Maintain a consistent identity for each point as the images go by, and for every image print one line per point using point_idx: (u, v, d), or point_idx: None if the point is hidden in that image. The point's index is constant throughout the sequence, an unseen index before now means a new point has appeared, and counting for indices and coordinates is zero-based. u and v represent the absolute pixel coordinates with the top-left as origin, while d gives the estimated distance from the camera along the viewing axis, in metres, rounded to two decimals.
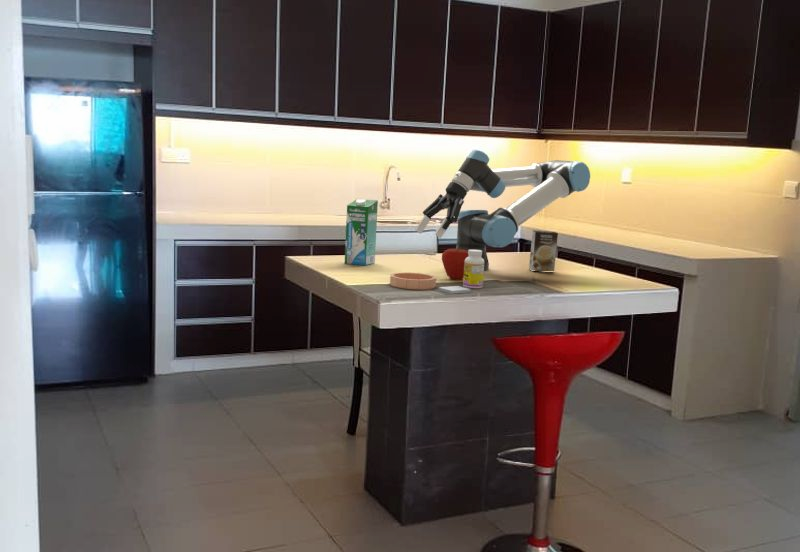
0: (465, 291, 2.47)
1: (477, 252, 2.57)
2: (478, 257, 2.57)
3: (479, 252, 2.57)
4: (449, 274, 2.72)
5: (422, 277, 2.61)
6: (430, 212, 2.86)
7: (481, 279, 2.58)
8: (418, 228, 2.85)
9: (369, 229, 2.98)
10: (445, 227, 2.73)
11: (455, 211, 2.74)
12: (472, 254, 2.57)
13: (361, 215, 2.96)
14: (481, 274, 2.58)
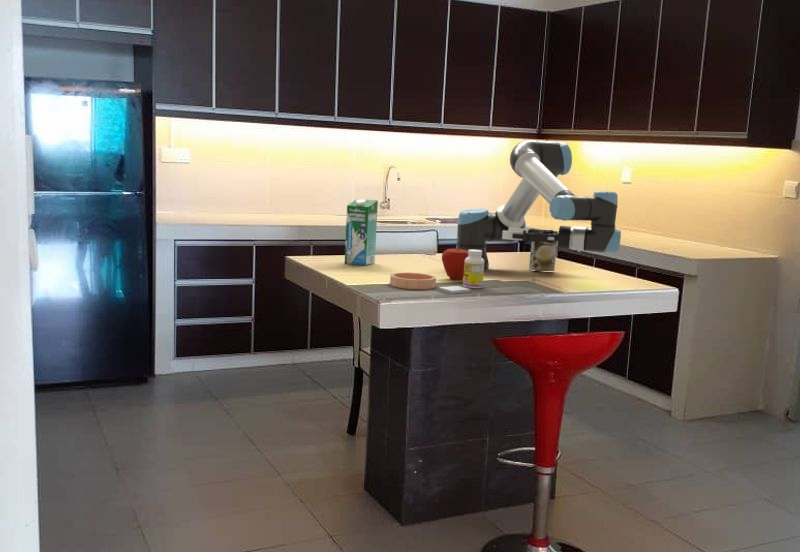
0: (465, 291, 2.47)
1: (477, 252, 2.57)
2: (478, 257, 2.57)
3: (479, 252, 2.57)
4: (449, 274, 2.72)
5: (422, 277, 2.61)
6: None
7: (481, 279, 2.58)
8: None
9: (369, 229, 2.98)
10: None
11: None
12: (472, 254, 2.57)
13: (361, 215, 2.96)
14: (481, 274, 2.58)
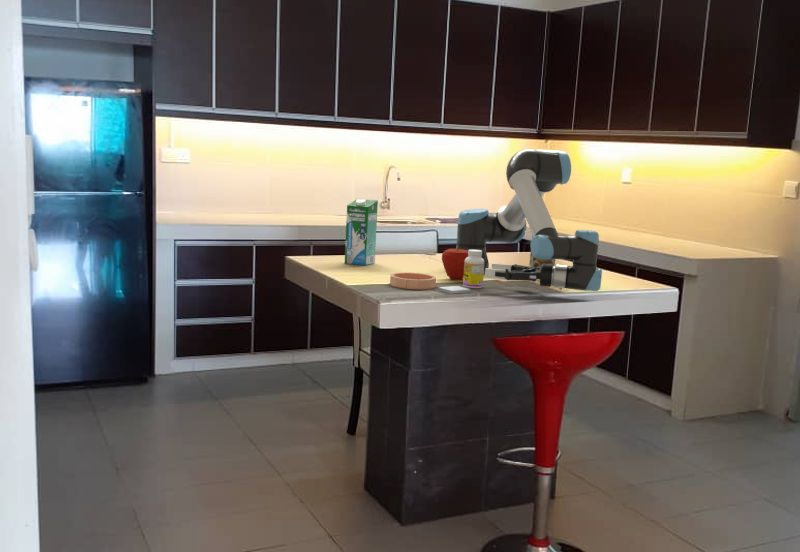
0: (465, 291, 2.47)
1: (477, 252, 2.57)
2: (478, 257, 2.57)
3: (479, 252, 2.57)
4: (449, 274, 2.72)
5: (422, 277, 2.61)
6: None
7: (481, 279, 2.58)
8: None
9: (369, 229, 2.98)
10: None
11: None
12: (472, 254, 2.57)
13: (361, 215, 2.96)
14: (481, 274, 2.58)
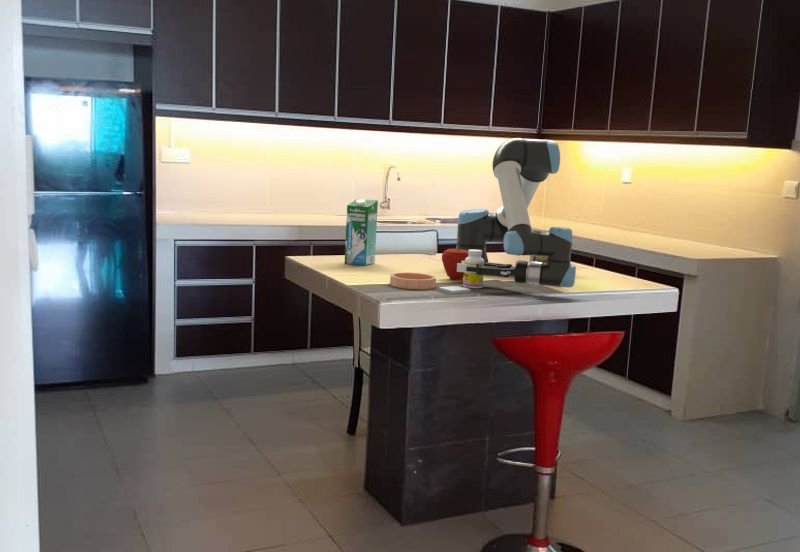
0: (465, 291, 2.47)
1: (477, 252, 2.57)
2: (478, 257, 2.57)
3: (479, 252, 2.57)
4: (449, 274, 2.72)
5: (422, 277, 2.61)
6: None
7: (481, 279, 2.58)
8: None
9: (369, 229, 2.98)
10: None
11: None
12: (472, 254, 2.57)
13: (361, 215, 2.96)
14: None
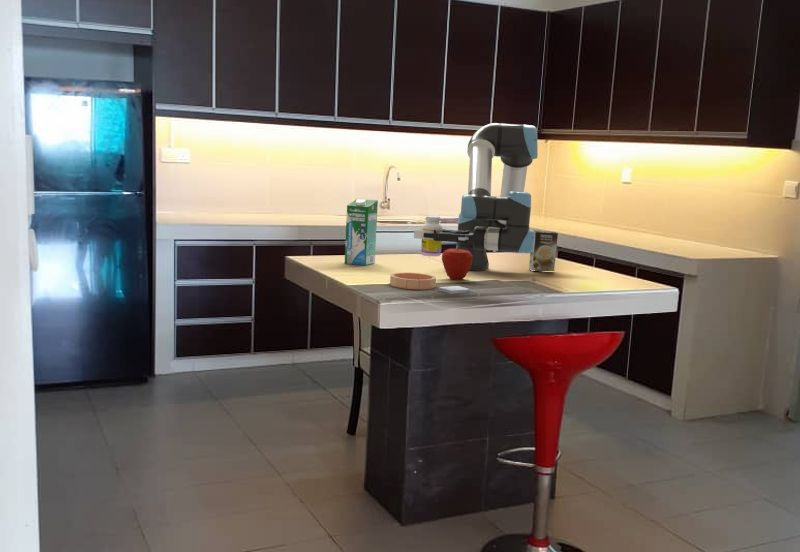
0: (465, 291, 2.47)
1: (435, 218, 2.50)
2: (436, 223, 2.51)
3: (437, 218, 2.51)
4: (449, 274, 2.72)
5: (422, 277, 2.61)
6: None
7: (439, 246, 2.52)
8: None
9: (369, 229, 2.98)
10: None
11: None
12: (430, 220, 2.51)
13: (361, 215, 2.96)
14: (439, 241, 2.52)
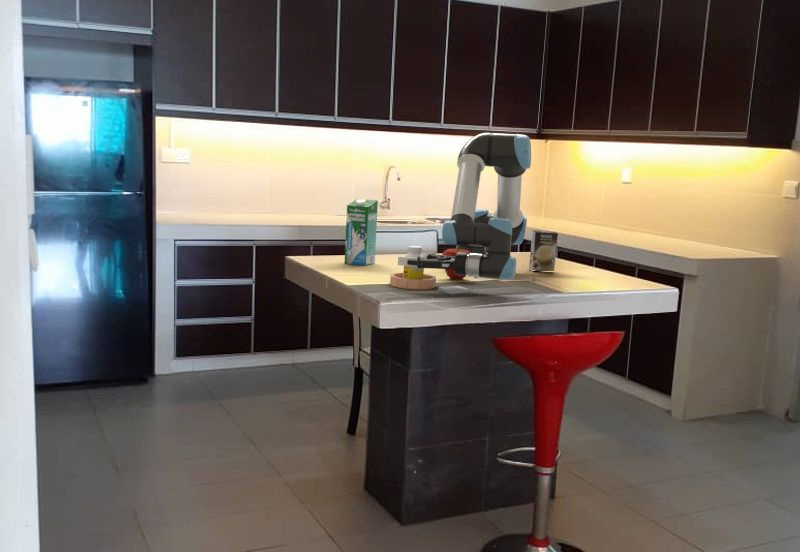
0: (465, 291, 2.47)
1: (416, 248, 2.52)
2: (418, 253, 2.53)
3: (419, 248, 2.52)
4: (449, 274, 2.72)
5: None
6: None
7: (421, 276, 2.54)
8: None
9: (369, 229, 2.98)
10: None
11: None
12: (411, 250, 2.52)
13: (361, 215, 2.96)
14: (421, 271, 2.53)
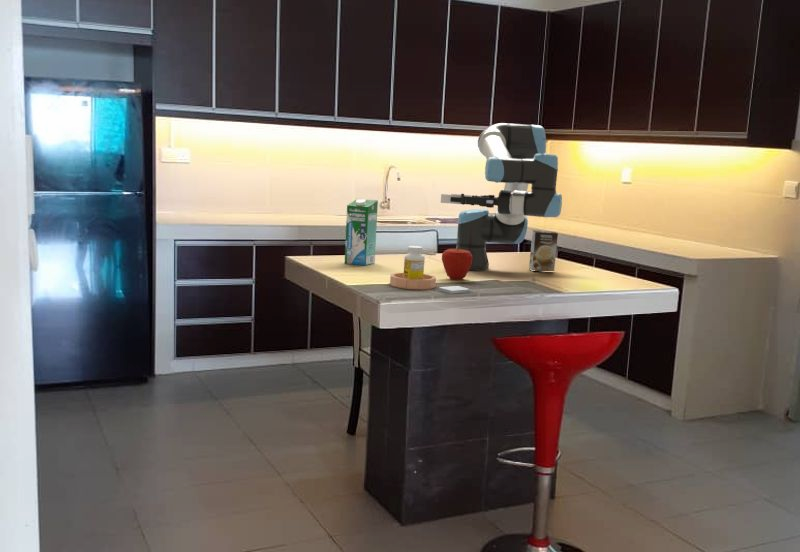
0: (465, 291, 2.47)
1: (416, 248, 2.52)
2: (418, 254, 2.52)
3: (419, 248, 2.52)
4: (449, 274, 2.72)
5: None
6: None
7: (421, 276, 2.53)
8: None
9: (369, 229, 2.98)
10: None
11: None
12: (411, 250, 2.52)
13: (361, 215, 2.96)
14: (421, 271, 2.53)
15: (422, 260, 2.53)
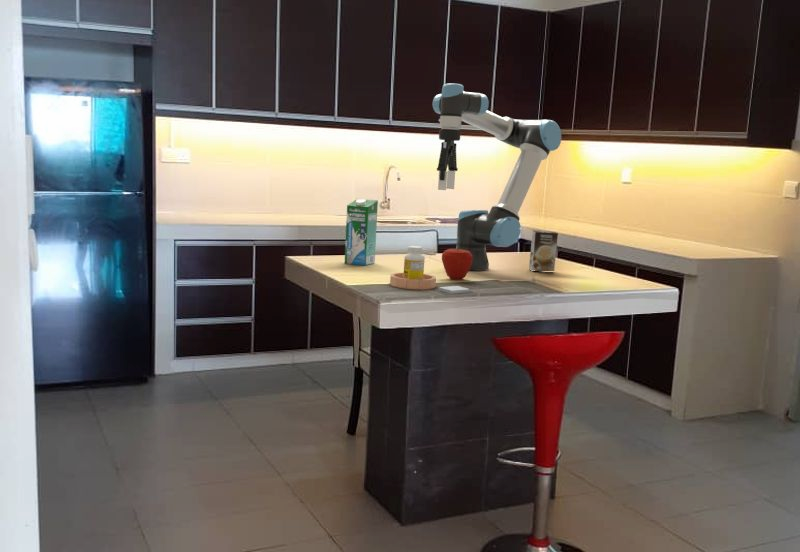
0: (465, 291, 2.47)
1: (416, 248, 2.52)
2: (418, 253, 2.52)
3: (419, 248, 2.52)
4: (449, 274, 2.72)
5: None
6: (449, 165, 2.80)
7: (421, 276, 2.53)
8: (448, 186, 2.81)
9: (369, 229, 2.98)
10: (441, 178, 2.67)
11: (440, 159, 2.65)
12: (411, 250, 2.52)
13: (361, 215, 2.96)
14: (421, 271, 2.53)
15: (422, 260, 2.53)
